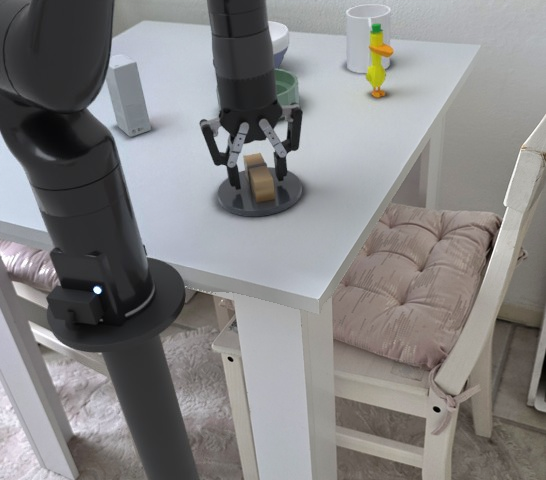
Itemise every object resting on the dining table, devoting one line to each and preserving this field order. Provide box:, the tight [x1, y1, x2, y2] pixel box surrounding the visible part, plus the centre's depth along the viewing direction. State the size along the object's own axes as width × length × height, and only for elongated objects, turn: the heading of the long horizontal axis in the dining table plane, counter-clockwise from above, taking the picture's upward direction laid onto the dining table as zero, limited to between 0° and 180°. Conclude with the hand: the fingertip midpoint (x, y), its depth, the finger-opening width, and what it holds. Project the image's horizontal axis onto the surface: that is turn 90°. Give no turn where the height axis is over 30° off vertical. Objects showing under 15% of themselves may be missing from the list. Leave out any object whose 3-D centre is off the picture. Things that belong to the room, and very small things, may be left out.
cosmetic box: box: [105, 53, 152, 138], centre depth 112 cm, size 6×4×12 cm
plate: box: [217, 166, 303, 218], centre depth 95 cm, size 12×12×1 cm
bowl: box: [268, 20, 290, 69], centre depth 128 cm, size 14×14×8 cm
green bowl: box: [215, 68, 301, 119], centre depth 116 cm, size 14×14×4 cm
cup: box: [345, 3, 392, 74], centre depth 123 cm, size 8×12×10 cm
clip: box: [242, 152, 275, 203], centre depth 93 cm, size 8×3×3 cm, turn 13°
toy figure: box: [365, 24, 394, 99], centre depth 113 cm, size 7×4×12 cm, turn 30°
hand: (258, 182), depth 94 cm, fingers open, 5 cm apart
